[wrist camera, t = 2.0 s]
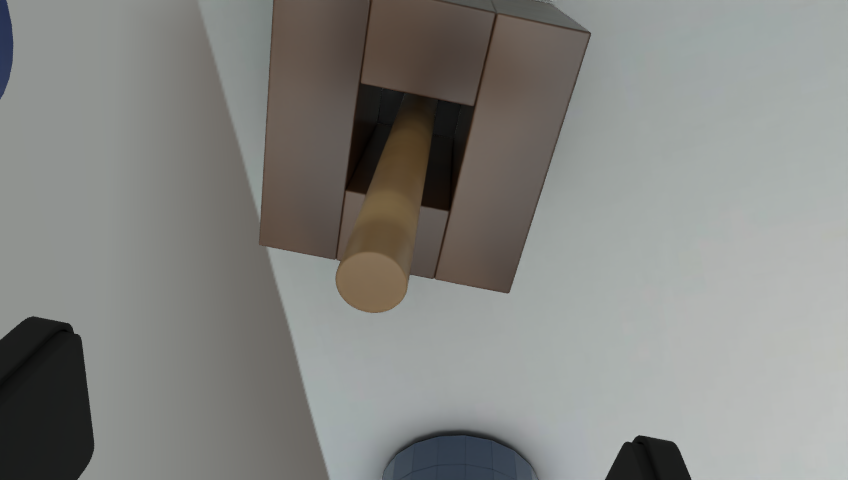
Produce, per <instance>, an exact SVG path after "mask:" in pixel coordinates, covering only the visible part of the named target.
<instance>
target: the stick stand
mask: <svg viewBox="0 0 848 480" xmlns="http://www.w3.org/2000/svg"><path fill="white" fill-rule="evenodd" d="M590 36H591V33H590V32H589V31H588V30H586V29H585V28H584V27H582V26H581V25H579V24H578V23H577V22H575V21H574V20H573V19H571V18H570V17H569V16H567V15H566V14H564V13H563V12H562V11H560V10H559V9H558V8H556V7H555V6H554V5H552V4H548V3H544V2H539V1H534V0H273V17H272V34H271V51H270V68H269V85H268V102H267V119H266V136H265V153H264V170H263V187H262V204H261V221H260V239H259V245H262V246H267V247H272V248H278V249H283V250H288V251H293V252H298V253H303V254H308V255H313V256H318V257H323V258H329V259H334V260H335V259H337V260H339V261H341V259H342V256H343V254H344V251H345V249H346V246H347V243H348V241H349V238H350V235H351V233H352V230H353V228H354V225H355V222H356V220H357V217H358V215H359V212H360V209H361V207H362V204H363V202H364V199H365V196H366V194H367V191H368V189H369V186H370V183H371V181H372V178H373V175H374V173H375V170H376V168H377V165H378V162H379V160H380V157H381V155H382V152H383V149H384V147H385V144H386V142H387V139H388V136H389V134H390V131H391V129H392V126H390V125H385V124H380V123H377V120H378V114H379V107H380V101H381V94H382V88H385V89H389V90H394V91H399V92H404V93H409V94H414V95H418V96H423V97H428V98H433V99H438V100H443V101H447V102H452V103H457V104H461V108H460V113H459V117H458V122H457V126H456V131H455V135H454V140H453V138H449V137H444V136H439V135H434V134H432V139H431V146H430V152H429V158H428V164H427V170H426V177H425V183H424V189H423V195H422V201H421V207H420V214H419V220H418V226H417V232H416V238H415V244H414V251H413V257H412V263H411V269H410V275H415V276H420V277H426V278H431V279H433V278H435V279H436V280H442V281H447V282H452V283H457V284H462V285H467V286H472V287H477V288H482V289H487V290H493V291H498V292H503V293H509V292H510V290H511V286H512V283H513V280H514V277H515V274H516V271H517V267H518V264H519V261H520V258H521V255H522V252H523V248H524V245H525V242H526V239H527V236H528V233H529V229H530V226H531V223H532V220H533V217H534V214H535V210H536V207H537V204H538V201H539V198H540V195H541V191H542V188H543V185H544V182H545V179H546V176H547V172H548V169H549V166H550V163H551V160H552V157H553V153H554V150H555V147H556V144H557V141H558V138H559V134H560V131H561V128H562V125H563V122H564V119H565V115H566V112H567V109H568V106H569V103H570V100H571V96H572V93H573V90H574V87H575V84H576V81H577V77H578V74H579V71H580V68H581V65H582V62H583V58H584V55H585V52H586V49H587V46H588V43H589V39H590Z"/></svg>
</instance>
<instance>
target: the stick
mask: <svg viewBox="0 0 848 480" xmlns="http://www.w3.org/2000/svg"><path fill="white" fill-rule="evenodd" d="M437 102H438V99H433V98H428V97H423V96H418V95H414V94H409V93H405V95H404V97H403V100H402V102H401V105H400V108H399V110H398V113H397V115H396V118H395V121H394V123H393V126H392V129H391V131H390V134H389V136H388V139H387V142H386V144H385V147H384V149H383V152H382V155H381V157H380V160H379V162H378V165H377V168H376V170H375V173H374V175H373V178H372V181H371V183H370V186H369V189H368V191H367V194H366V196H365V199H364V202H363V204H362V207H361V209H360V212H359V215H358V217H357V220H356V222H355V225H354V228H353V230H352V233H351V235H350V238H349V241H348V243H347V246H346V249H345V251H344V254H343V256H342V259H341V262H340V264H339V267H338V269H337V272H336V286H337V289H338V291H339V293H340V295H341V297H342V298H343V299H344V300H345V301H346V302H347V303H348V304H349V305H351V306H352V307H354V308H356V309H358V310H361V311H364V312H370V313H378V312H384V311H387V310H390V309H392V308H394V307H395V306H397V305H398V304H399V303H400V302H401V301H402V300H403V298H404V297H405V294H406V292H407V288H408V281H409V275H410V269H411V263H412V257H413V251H414V244H415V238H416V232H417V226H418V220H419V214H420V207H421V201H422V195H423V189H424V183H425V177H426V170H427V164H428V158H429V152H430V146H431V139H432V133H433V127H434V121H435V115H436V109H437Z"/></svg>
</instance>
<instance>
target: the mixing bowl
mask: <svg viewBox="0 0 848 480" xmlns="http://www.w3.org/2000/svg"><path fill="white" fill-rule="evenodd" d="M382 480H538V478H537V476H536V475H535V473H534V471H533V469H532V467H531V465H530V464H529V463H528V462H527V461H525V460H524V459H523V458H522V457H521V456H520V455H518V454H517V453H516V452H515V451H514V450H512V449H510V448H507V447H505V446H503V445H501V444H499V443H497V442H494V441H492V440H487V439H482V438H477V437H471V436H465V435H459V436H439V437H435V438H432V439H428V440H425V441H421V442H418V443H414V444H413V445H411V446H410V447H408V448H406V449H405V450H403V451H402V452H400V453H398V454H397V455H396V456H395V457H394V459H393V460H392V461H391V463H390V464H389V465H388V466H387V468H386V469H385V470H384V474H383V478H382Z"/></svg>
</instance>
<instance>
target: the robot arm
mask: <svg viewBox="0 0 848 480" xmlns="http://www.w3.org/2000/svg"><path fill="white" fill-rule="evenodd" d="M93 451H94V438H93V429H92V421H91V413H90V405H89V396H88V388H87V381H86V372H85V364H84V355H83V348H82V340H81V337H80V336H79V335H78V334H74V332H73V328H72V327H71V325H70V324H68V323H64V322H58V321H54V320H48V319H44V318H39V317H34V316H33V317H29V318H27V319H25V320H24V321H22V322H21V323H20V324H19V325H17V326H16V327H15V328H14V329H13V330H11V331H10V332H9V333H8V334H7V335H6V336H5V337H3V338H2V339H1V340H0V480H77V479H78V478H79V477H80V475H81V474H82V473H83V471H84V470H85V468H86V467H87V465H88V464H89V462H90V459H91V457H92V454H93ZM605 480H691V477H690V475H689V472H688V470H687V468H686V465H685V463H684V460H683V458H682V455H681V453H680V451H679V449H678V447H677V445H676V444H675V443H674V442H672V441H667V440H662V439H656V438H651V437H646V436H640V435H639V436H637V437H635V439H634V440H633V442H625V443H624V444H623V446H622V448H621V450H620V451H619V453H618V455H617V457H616V459H615V461H614V463H613V465H612V467H611V469H610V471H609V473H608V475H607V477H606V479H605Z"/></svg>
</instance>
